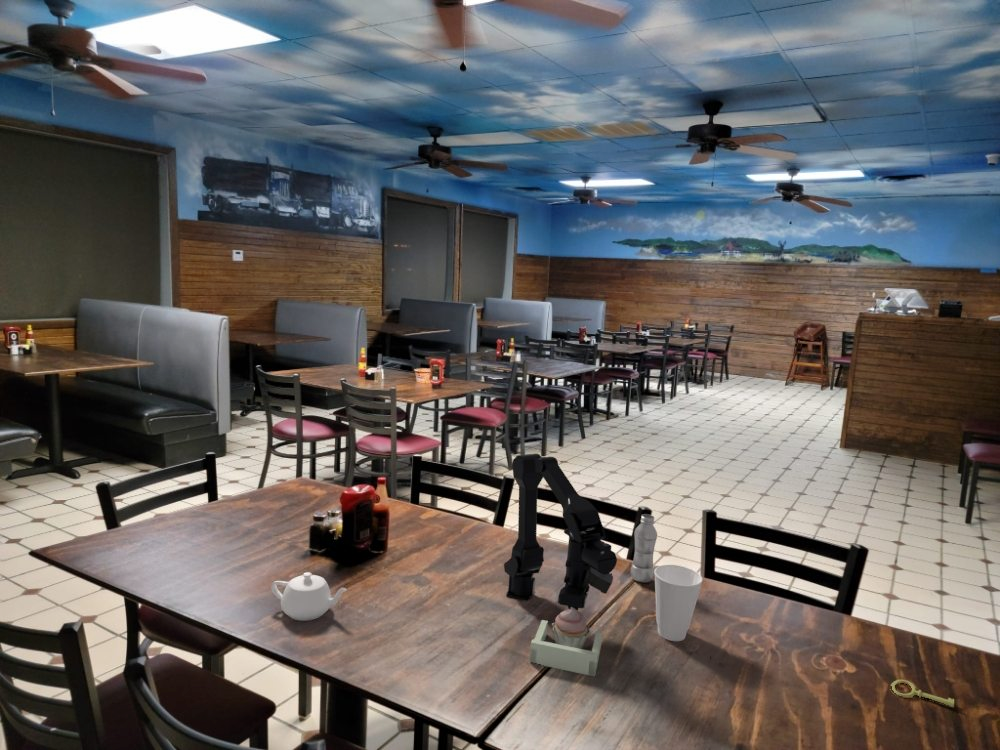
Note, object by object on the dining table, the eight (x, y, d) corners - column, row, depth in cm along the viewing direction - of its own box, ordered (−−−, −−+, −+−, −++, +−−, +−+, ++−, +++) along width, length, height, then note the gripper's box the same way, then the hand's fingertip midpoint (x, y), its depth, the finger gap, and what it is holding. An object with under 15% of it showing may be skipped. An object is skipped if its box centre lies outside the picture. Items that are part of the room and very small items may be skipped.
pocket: (529, 662, 153) (531, 642, 152) (540, 632, 166) (542, 614, 165) (594, 676, 149) (596, 655, 148) (601, 645, 162) (603, 626, 161)
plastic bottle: (652, 586, 195) (660, 521, 192) (629, 583, 196) (636, 518, 193) (652, 577, 201) (659, 514, 198) (629, 573, 202) (636, 511, 199)
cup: (696, 628, 173) (703, 570, 171) (694, 651, 162) (701, 589, 160) (650, 617, 177) (656, 560, 175) (644, 639, 166) (651, 579, 163)
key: (956, 713, 146) (958, 704, 145) (892, 698, 150) (894, 689, 149) (947, 694, 152) (948, 686, 152) (886, 680, 156) (887, 672, 156)
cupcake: (566, 631, 167) (569, 593, 166) (596, 647, 161) (600, 608, 159) (541, 644, 161) (545, 605, 159) (572, 661, 154) (575, 621, 153)
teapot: (355, 606, 172) (356, 569, 171) (334, 631, 160) (335, 591, 159) (284, 594, 176) (284, 558, 174) (258, 617, 164) (259, 578, 162)
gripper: (608, 579, 151) (602, 642, 154) (615, 547, 169) (609, 604, 172) (560, 570, 154) (555, 633, 157) (572, 540, 172) (567, 596, 175)
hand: (573, 616), depth 165 cm, fingers closed
